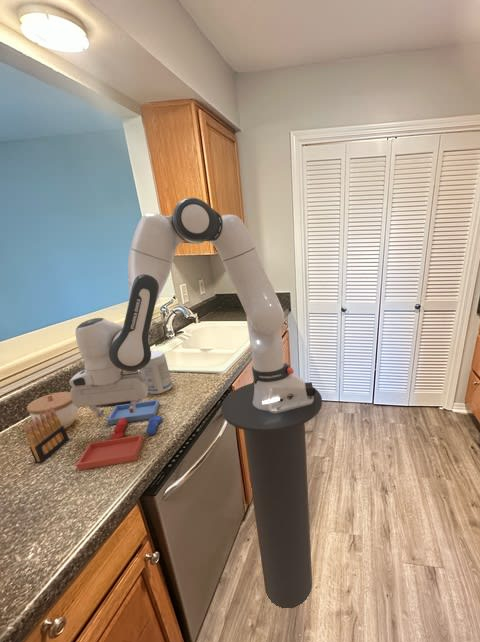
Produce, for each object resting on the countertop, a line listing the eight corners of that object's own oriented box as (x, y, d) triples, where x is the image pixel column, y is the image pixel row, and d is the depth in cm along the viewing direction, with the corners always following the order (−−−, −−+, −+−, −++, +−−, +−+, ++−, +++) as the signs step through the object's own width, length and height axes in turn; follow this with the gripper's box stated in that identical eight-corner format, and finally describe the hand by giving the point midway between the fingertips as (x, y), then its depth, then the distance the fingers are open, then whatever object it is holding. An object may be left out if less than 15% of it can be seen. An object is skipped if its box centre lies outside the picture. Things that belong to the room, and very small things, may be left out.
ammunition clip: (41, 462, 89) (25, 425, 84) (35, 462, 89) (18, 425, 84) (69, 439, 98) (55, 405, 94) (63, 439, 99) (49, 405, 94)
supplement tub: (169, 381, 134) (161, 348, 128) (175, 389, 127) (167, 354, 121) (144, 388, 129) (135, 354, 123) (149, 397, 122) (139, 361, 116)
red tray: (143, 439, 96) (142, 434, 96) (136, 460, 88) (134, 454, 87) (91, 448, 94) (89, 442, 93) (78, 470, 85) (76, 464, 84)
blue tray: (159, 404, 116) (158, 399, 116) (154, 418, 108) (153, 413, 107) (117, 410, 114) (115, 405, 113) (108, 425, 105) (107, 420, 104)
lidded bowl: (89, 412, 113) (79, 384, 109) (73, 432, 102) (62, 401, 97) (48, 417, 111) (37, 389, 107) (29, 439, 100) (14, 408, 95)
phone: (131, 401, 116) (90, 403, 117) (132, 404, 117) (91, 406, 117) (141, 391, 124) (103, 393, 124) (142, 394, 124) (103, 395, 124)
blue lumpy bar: (144, 437, 97) (142, 430, 96) (151, 419, 107) (149, 413, 106) (157, 435, 98) (155, 428, 97) (162, 418, 107) (161, 411, 106)
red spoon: (130, 422, 106) (128, 415, 105) (122, 440, 96) (120, 433, 95) (119, 424, 105) (116, 417, 104) (109, 442, 96) (106, 435, 95)
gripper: (144, 365, 100) (154, 404, 106) (71, 373, 96) (85, 413, 102) (140, 373, 94) (150, 414, 100) (62, 382, 91) (77, 424, 96)
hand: (117, 414), depth 101 cm, fingers open, 8 cm apart
